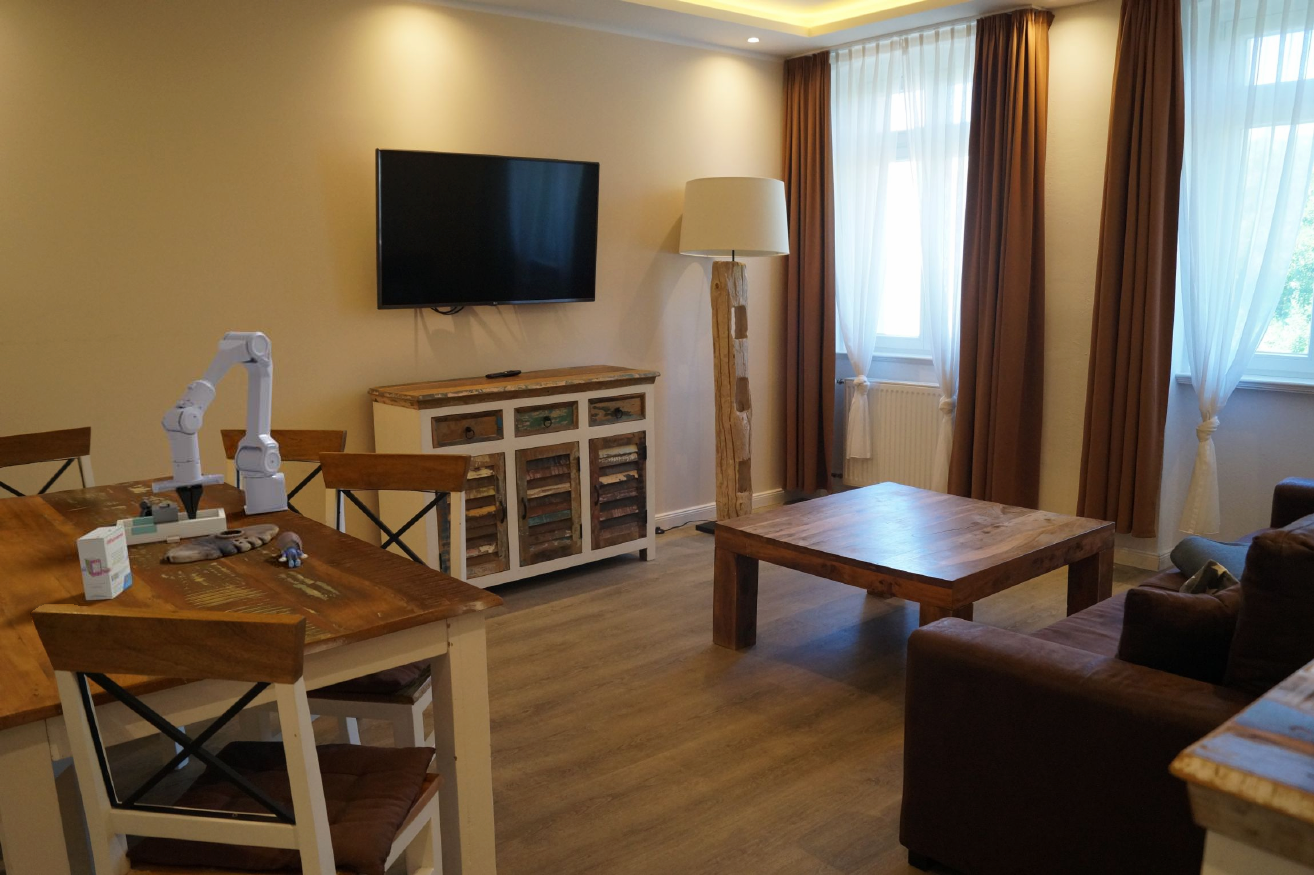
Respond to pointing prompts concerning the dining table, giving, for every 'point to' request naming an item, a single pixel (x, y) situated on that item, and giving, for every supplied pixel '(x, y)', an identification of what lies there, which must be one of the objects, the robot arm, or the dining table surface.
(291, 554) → the figurine
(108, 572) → the ink box
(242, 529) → the mask
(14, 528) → the dining table surface
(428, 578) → the dining table surface
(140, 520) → the white rectangular tray
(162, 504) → the rider
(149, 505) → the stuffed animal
